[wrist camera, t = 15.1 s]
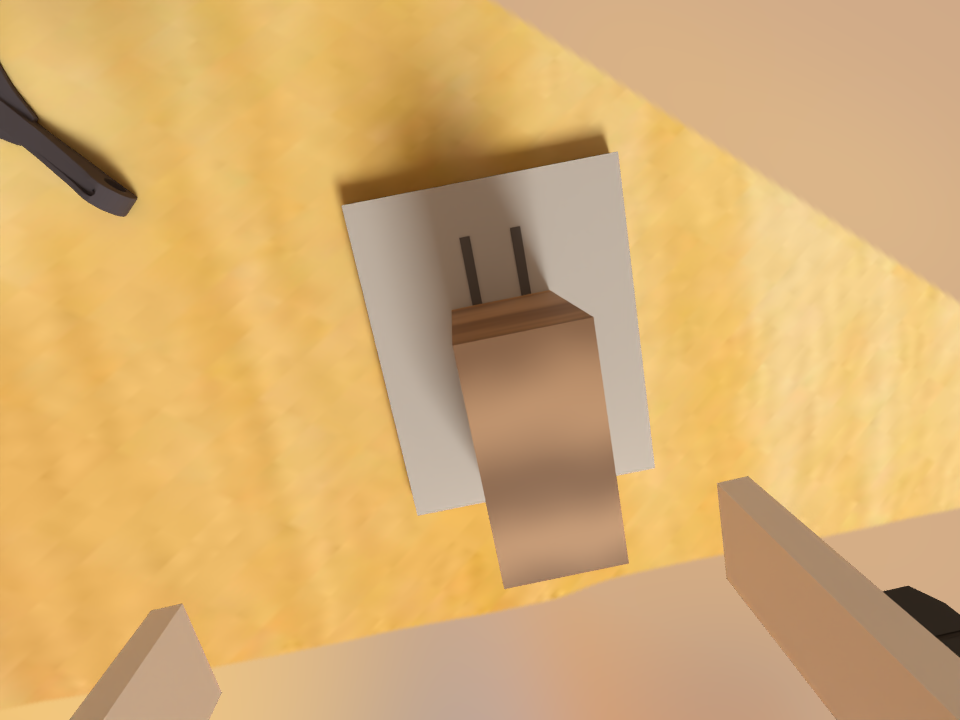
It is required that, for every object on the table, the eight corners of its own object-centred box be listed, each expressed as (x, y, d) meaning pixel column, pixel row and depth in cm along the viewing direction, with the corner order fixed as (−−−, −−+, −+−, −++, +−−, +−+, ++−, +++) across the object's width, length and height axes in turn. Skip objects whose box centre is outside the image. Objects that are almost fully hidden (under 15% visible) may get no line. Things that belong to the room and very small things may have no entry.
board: (346, 206, 31) (341, 205, 30) (610, 155, 32) (618, 151, 30) (419, 504, 36) (417, 516, 35) (646, 458, 36) (655, 468, 35)
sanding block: (451, 309, 32) (452, 345, 22) (549, 289, 32) (593, 317, 22) (489, 488, 35) (504, 589, 25) (578, 469, 35) (628, 563, 25)
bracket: (78, 302, 33) (45, 308, 30) (-167, 136, 30) (-228, 127, 27) (208, 107, 30) (185, 96, 28) (-41, -92, 28) (-94, -126, 25)
